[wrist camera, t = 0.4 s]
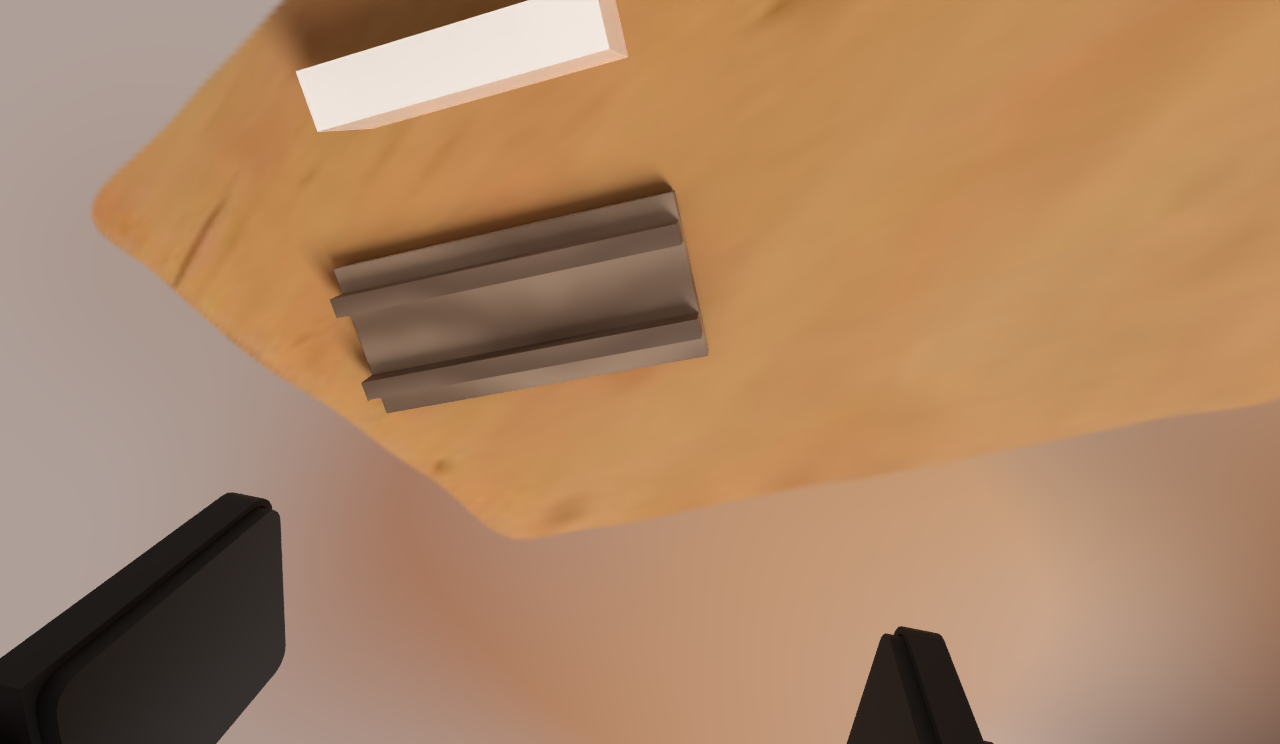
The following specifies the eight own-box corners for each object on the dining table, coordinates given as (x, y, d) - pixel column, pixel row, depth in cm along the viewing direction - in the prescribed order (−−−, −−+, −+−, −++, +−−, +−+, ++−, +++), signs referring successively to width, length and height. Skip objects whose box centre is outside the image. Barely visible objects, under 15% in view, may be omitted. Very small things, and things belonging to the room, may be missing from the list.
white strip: (355, 76, 42) (295, 71, 37) (614, -2, 39) (593, -20, 33) (372, 128, 43) (317, 131, 37) (628, 57, 40) (609, 48, 34)
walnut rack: (341, 266, 46) (320, 274, 44) (674, 190, 42) (670, 195, 39) (393, 407, 49) (376, 422, 47) (708, 350, 45) (706, 363, 42)
